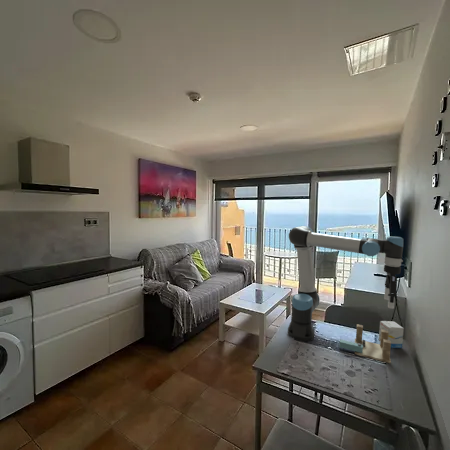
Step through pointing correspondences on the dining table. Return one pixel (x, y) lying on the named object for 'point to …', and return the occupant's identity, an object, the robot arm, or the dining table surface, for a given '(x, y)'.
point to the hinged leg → (351, 346)
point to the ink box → (392, 333)
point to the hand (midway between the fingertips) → (388, 303)
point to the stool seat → (374, 346)
